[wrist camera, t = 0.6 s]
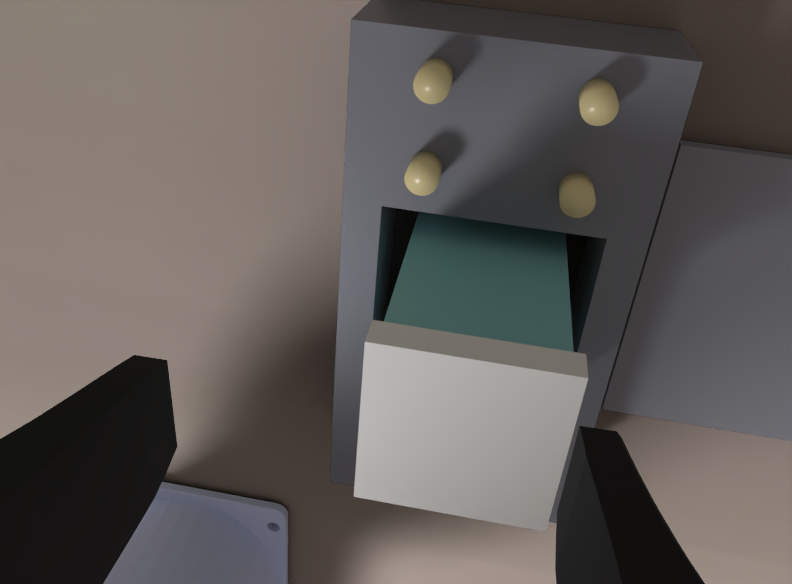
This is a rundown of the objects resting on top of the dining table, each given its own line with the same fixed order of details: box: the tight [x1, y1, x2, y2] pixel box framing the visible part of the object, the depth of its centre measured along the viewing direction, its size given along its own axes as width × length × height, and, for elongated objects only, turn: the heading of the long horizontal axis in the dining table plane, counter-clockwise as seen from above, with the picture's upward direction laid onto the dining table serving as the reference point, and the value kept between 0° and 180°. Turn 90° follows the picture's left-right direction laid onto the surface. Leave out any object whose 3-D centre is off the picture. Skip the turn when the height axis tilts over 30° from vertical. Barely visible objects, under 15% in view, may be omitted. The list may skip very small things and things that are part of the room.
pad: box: [602, 140, 792, 441], centre depth 21 cm, size 9×8×1 cm
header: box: [330, 0, 703, 523], centre depth 21 cm, size 14×8×4 cm, turn 175°
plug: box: [354, 212, 588, 532], centre depth 19 cm, size 4×4×8 cm
